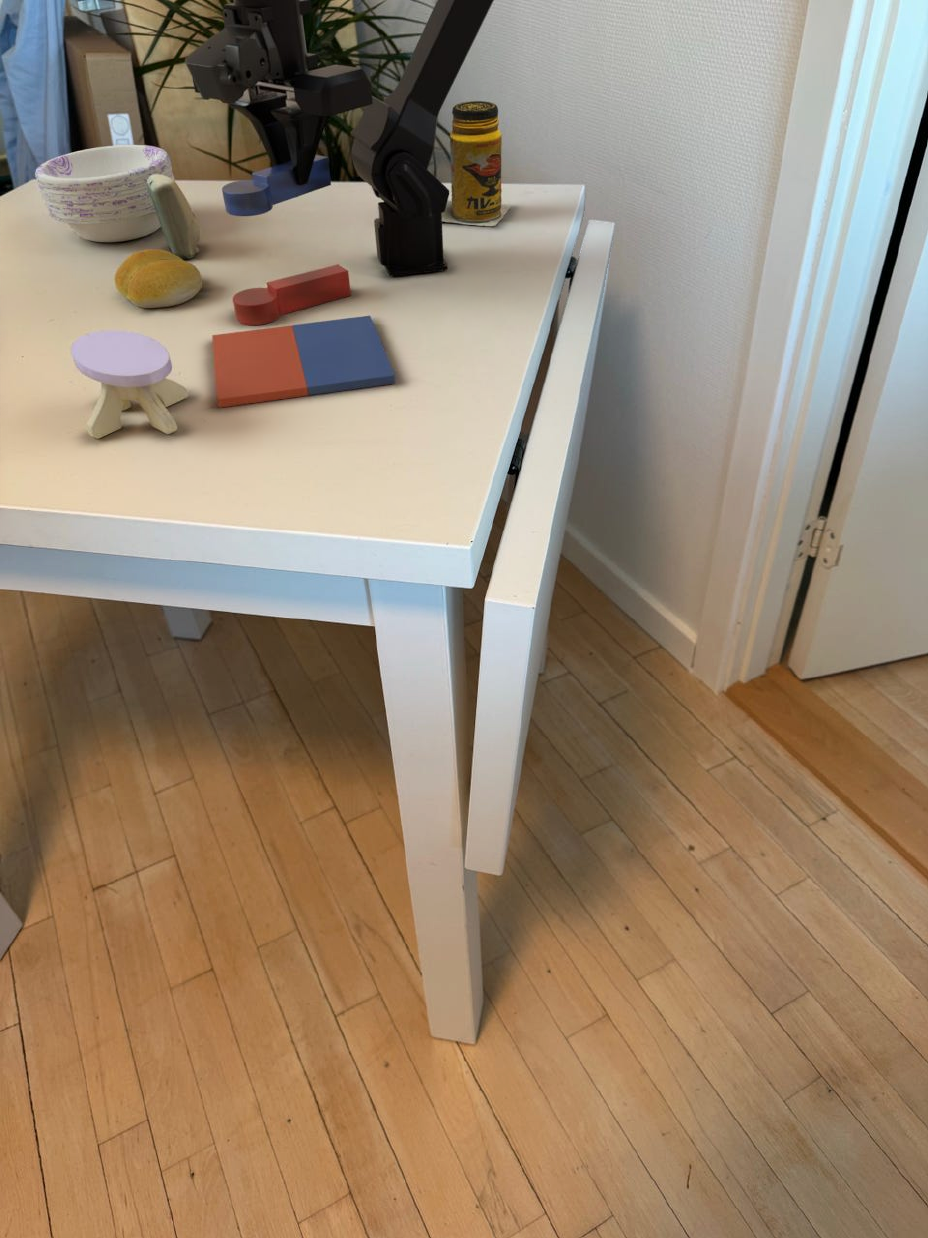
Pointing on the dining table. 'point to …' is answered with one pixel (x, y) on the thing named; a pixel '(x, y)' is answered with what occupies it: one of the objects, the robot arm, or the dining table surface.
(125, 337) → the toy table
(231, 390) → the sorting board
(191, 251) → the green soap bar
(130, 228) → the paper bowls
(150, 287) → the bread roll
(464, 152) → the condiment
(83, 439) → the dining table surface
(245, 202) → the blue spoon
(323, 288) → the red spoon
